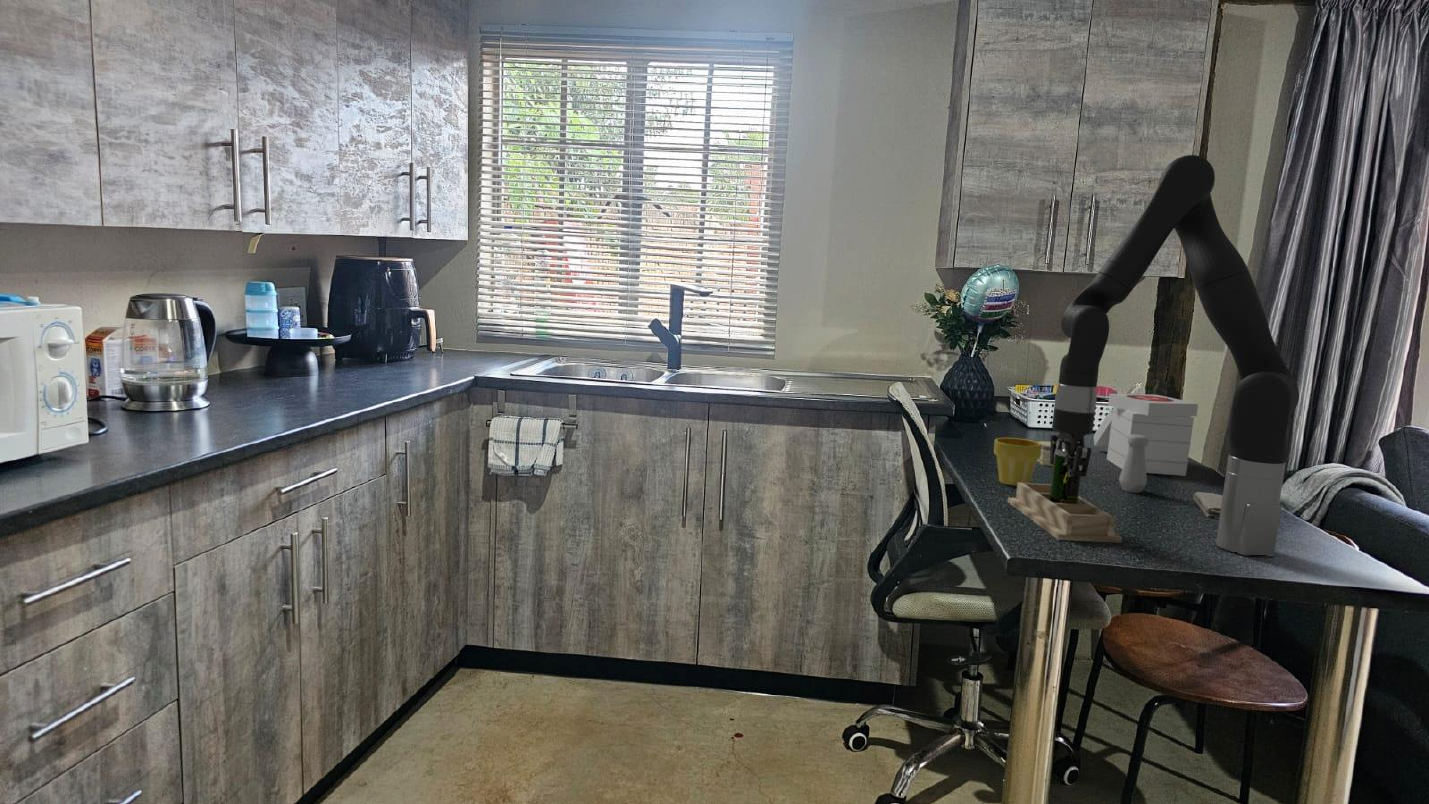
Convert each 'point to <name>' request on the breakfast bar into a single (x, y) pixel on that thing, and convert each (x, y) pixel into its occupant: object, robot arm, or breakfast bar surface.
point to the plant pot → (1016, 459)
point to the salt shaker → (1134, 465)
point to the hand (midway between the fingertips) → (1064, 492)
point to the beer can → (1061, 480)
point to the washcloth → (1209, 503)
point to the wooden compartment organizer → (1064, 515)
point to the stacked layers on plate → (1045, 453)
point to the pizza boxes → (1149, 430)
